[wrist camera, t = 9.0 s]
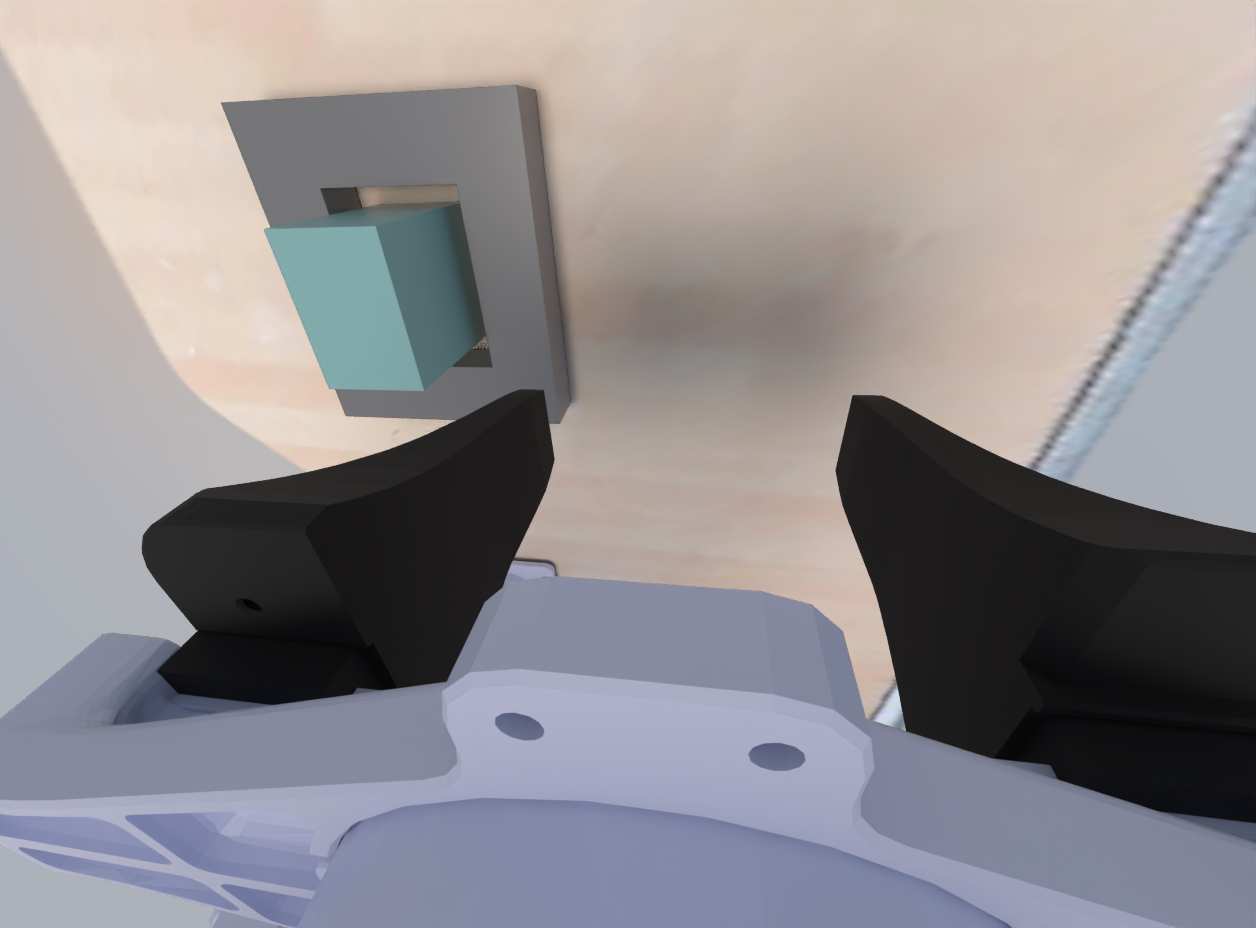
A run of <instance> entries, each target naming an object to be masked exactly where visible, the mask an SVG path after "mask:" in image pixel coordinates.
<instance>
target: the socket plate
mask: <svg viewBox="0 0 1256 928" xmlns="http://www.w3.org/2000/svg"><path fill="white" fill-rule="evenodd" d="M221 104H222V107H223V109H224V112H225V114H226V117H227V119H228V122H229V124H230V127H231V130H232V132H233V135H234V137H235V140H236V142H237V145H238V147H239V150H240V152H241V155H242V157H243V160H244V162H245V165H246V167H247V170H248V172H249V175H250V177H251V180H252V182H253V185H254V187H255V190H256V192H257V195H258V197H259V200H260V202H261V205H262V207H263V210H264V212H265V215H266V217H267V220H268V222H269V225H270V227H276V226H280V225H285V224H290V223H294V222H299V221H304V220H308V219H313V218H318V217H322V216H327V215H332V214H336V213H341V212H346V211H350V210H355V209H360V208H361V204H360V201H359V198H358V194H357V191H356V188H355V187H377V186H408V185H440V184H456V185H457V190H458V195H459V200H460V205H461V210H462V215H463V220H464V225H465V230H466V235H467V240H468V245H469V250H470V255H471V260H472V265H473V270H474V275H475V280H476V285H477V290H478V295H479V300H480V306H481V311H482V316H483V321H484V326H485V331H486V336H487V341H488V346H489V349H470V350H469V351H468V352H467V353H466V354H465V355H464V356H463V357H462V358H460V359H459V360H458V361H457V362H456V363H455V364H454V365H453V366H452V367H450V368H449V369H448V370H447V371H446V372H445V373H444V374H443V375H442V376H440V377H439V378H438V379H437V380H436V381H435V382H434V383H433V384H432V385H430V386H429V387H428V388H427V389H426V390H425V391H400V390H357V389H335V390H336V393H337V395H338V398H339V400H340V403H341V405H342V408H343V410H344V413H345V415H346V416H355V417H383V418H411V419H439V420H458V419H460V418H462V417H464V416H466V415H468V414H470V413H472V412H474V411H475V410H477V409H479V408H481V407H483V406H485V405H487V404H489V403H491V402H493V401H495V400H496V399H498V398H500V397H502V396H504V395H507V394H509V393H511V392H513V391H516V390H519V389H535V390H544V394H545V400H546V407H547V413H548V420H549V423H550V424H560V422H561V420H562V418H563V416H564V415H565V413H566V411H567V409H568V407H569V405H570V403H571V402H570V393H569V384H568V375H567V366H566V357H565V348H564V339H563V330H562V322H561V313H560V304H559V295H558V286H557V277H556V268H555V259H554V250H553V241H552V232H551V223H550V214H549V205H548V196H547V187H546V178H545V169H544V160H543V151H542V142H541V133H540V124H539V115H538V106H537V97H536V90H534V89H529V88H525V87H521V86H517V85H511V86H494V87H477V88H460V89H443V90H426V91H410V92H393V93H376V94H359V95H342V96H325V97H308V98H291V99H274V100H257V101H240V102H223V103H221Z"/></svg>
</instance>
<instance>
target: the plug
mask: <svg viewBox="0 0 1256 928" xmlns="http://www.w3.org/2000/svg"><path fill="white" fill-rule="evenodd" d="M264 232H265V234H266V237H267V239H268V241H269V244H270V246H271V249H272V251H273V254H274V256H275V258H276V261H277V263H278V266H279V268H280V271H281V273H282V275H283V278H284V280H285V283H286V285H287V288H288V290H289V292H290V295H291V297H292V300H293V302H294V305H295V307H296V309H297V312H298V314H299V317H300V319H301V322H302V324H303V327H304V329H305V331H306V334H307V336H308V339H309V341H310V344H311V346H312V348H313V351H314V353H315V356H316V358H317V361H318V363H319V365H320V368H321V370H322V373H323V375H324V378H325V380H326V382H327V385H328V387H329V389H357V390H400V391H425V390H426V389H427V388H428V387H429V386H430V385H432V384H433V383H434V382H435V381H436V380H437V379H438V378H439V377H440V376H442V375H443V374H444V373H445V372H446V371H447V370H448V369H449V368H450V367H452V366H453V365H454V364H455V363H456V362H457V361H458V360H459V359H460V358H462V357H463V356H464V355H465V354H466V353H467V352H468V351H469V350H470V349H472V348H473V347H474V346H475V345H476V344H477V343H478V342H479V341H480V340H482V339H483V338H484V337H485V336H486V331H485V326H484V321H483V316H482V311H481V306H480V300H479V295H478V290H477V285H476V280H475V275H474V270H473V265H472V260H471V255H470V250H469V245H468V240H467V235H466V230H465V225H464V220H463V215H462V210H461V205H460V202H436V203H406V204H378V205H374V206H369V207H364V208H360V209H355V210H350V211H346V212H341V213H336V214H332V215H327V216H322V217H318V218H313V219H308V220H304V221H299V222H294V223H290V224H285V225H280V226H276V227H271V228H266V229H264Z"/></svg>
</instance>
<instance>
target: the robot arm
mask: <svg viewBox="0 0 1256 928" xmlns="http://www.w3.org/2000/svg"><path fill="white" fill-rule="evenodd" d="M554 460H555V459H554V452H553V446H552V439H551V433H550V426H549V420H548V413H547V407H546V400H545V394H544V390H535V389H519V390H516V391H513V392H511V393H509V394H507V395H504V396H502V397H500V398H498V399H496V400H495V401H493V402H491V403H489V404H487V405H485V406H483V407H481V408H479V409H477V410H475V411H474V412H472V413H470V414H468V415H466V416H464V417H462V418H460V419H458V420H456V421H454V422H452V423H450V424H448V425H446V426H443V427H441V428H439V429H437V430H435V431H433V432H431V433H429V434H427V435H424V436H422V437H420V438H417V439H415V440H412V441H410V442H407V443H405V444H402V445H399V446H397V447H394V448H391V449H389V450H386V451H383V452H380V453H377V454H373V455H370V456H366V457H363V458H360V459H356V460H353V461H350V462H346V463H343V464H339V465H336V466H332V467H327V468H323V469H319V470H315V471H310V472H306V473H301V474H297V475H291V476H287V477H281V478H275V479H270V480H263V481H257V482H250V483H244V484H237V485H230V486H223V487H215V488H207V489H205V490H202V491H200V492H198V493H196V494H195V495H193V496H192V497H190V498H189V499H188V500H186V501H185V502H183V503H182V504H180V505H179V506H178V507H176V508H175V509H173V510H172V511H170V512H169V513H168V514H166V515H165V516H163V517H162V518H161V519H159V520H158V521H156V522H155V523H153V524H152V525H151V526H150V527H149V528H148V529H147V531H146V532H145V533H144V535H143V540H142V554H143V557H144V560H145V563H146V566H147V568H148V570H149V571H150V573H151V574H152V576H153V577H154V579H155V580H156V582H157V583H158V584H159V585H160V586H161V588H162V589H163V590H164V591H165V592H166V594H167V595H168V596H169V597H170V598H171V600H172V601H173V602H174V603H175V605H176V606H177V607H178V608H179V609H180V611H181V612H182V613H183V614H184V615H185V617H186V618H187V619H188V620H189V622H190V623H191V624H192V625H193V626H194V627H195V629H196V630H198V631H197V632H196V633H195V634H194V635H193V636H192V637H191V638H190V639H189V640H188V641H187V642H186V643H185V644H184V645H183V646H182V647H180V646H179V645H177V644H175V643H173V642H171V641H169V640H166V639H162V638H158V637H147V636H138V635H128V634H117V633H107V634H102V635H101V636H100V637H99V638H97V639H96V640H95V641H94V642H93V643H91V644H90V645H89V646H88V647H86V648H85V649H84V650H83V651H82V652H80V654H78V655H77V656H76V657H74V658H73V659H72V660H71V661H70V662H68V663H67V664H66V665H65V666H63V667H62V668H61V669H60V670H59V671H57V672H56V673H55V674H54V675H53V676H51V677H50V678H49V679H48V680H47V681H45V682H44V683H43V684H42V685H41V686H39V687H38V688H37V689H36V690H34V691H33V692H32V693H31V694H30V695H28V696H27V697H26V698H25V699H24V700H22V701H21V702H20V703H19V704H18V705H16V706H15V707H14V708H13V709H12V710H10V711H9V712H8V713H7V714H6V715H4V716H3V717H2V718H1V719H0V844H1V845H3V846H5V847H6V848H8V849H10V850H12V851H14V852H16V853H18V854H20V855H21V856H24V857H25V858H27V859H29V860H31V861H33V862H35V863H36V864H38V865H40V866H42V867H44V868H46V869H48V870H51V871H57V872H61V873H66V874H71V875H76V876H81V877H86V878H91V879H96V880H101V881H105V882H110V883H114V884H119V885H123V886H127V887H131V888H136V889H140V890H144V891H149V892H153V893H157V894H161V895H165V896H169V897H172V898H176V899H180V900H184V901H188V902H192V903H196V904H200V905H203V906H207V907H211V908H214V911H213V913H212V915H211V917H210V928H1256V533H1251V532H1246V531H1242V530H1237V529H1232V528H1228V527H1223V526H1218V525H1213V524H1208V523H1204V522H1200V521H1196V520H1192V519H1188V518H1184V517H1180V516H1176V515H1172V514H1169V513H1164V512H1161V511H1157V510H1153V509H1149V508H1145V507H1142V506H1138V505H1135V504H1131V503H1127V502H1124V501H1121V500H1117V499H1114V498H1111V497H1107V496H1105V495H1101V494H1098V493H1095V492H1092V491H1089V490H1085V489H1083V488H1079V487H1077V486H1073V485H1071V484H1068V483H1065V482H1062V481H1059V480H1057V479H1054V478H1051V477H1048V476H1046V475H1043V474H1041V473H1038V472H1036V471H1033V470H1031V469H1028V468H1026V467H1023V466H1021V465H1018V464H1016V463H1013V462H1011V461H1009V460H1007V459H1004V458H1002V457H1000V456H998V455H996V454H993V453H991V452H989V451H987V450H985V449H983V448H981V447H979V446H977V445H975V444H973V443H971V442H969V441H967V440H965V439H963V438H961V437H959V436H957V435H956V434H954V433H952V432H950V431H948V430H946V429H944V428H943V427H941V426H939V425H937V424H935V423H934V422H932V421H930V420H928V419H927V418H925V417H923V416H921V415H919V414H918V413H916V412H914V411H912V410H911V409H909V408H907V407H905V406H903V405H901V404H899V403H898V402H896V401H894V400H891V399H889V398H887V397H884V396H876V395H853V396H852V400H851V405H850V409H849V413H848V418H847V422H846V427H845V431H844V435H843V440H842V444H841V449H840V453H839V457H838V462H837V466H836V476H837V481H838V486H839V491H840V496H841V501H842V505H843V508H844V511H845V514H846V516H847V519H848V522H849V524H850V527H851V530H852V532H853V535H854V537H855V540H856V543H857V545H858V548H859V550H860V553H861V556H862V558H863V561H864V563H865V566H866V569H867V571H868V574H869V576H870V579H871V582H872V584H873V588H874V591H875V594H876V597H877V600H878V604H879V608H880V612H881V616H882V620H883V624H884V628H885V632H886V636H887V640H888V645H889V649H890V654H891V658H892V663H893V667H894V672H895V676H896V681H897V686H898V691H899V696H900V701H901V707H902V712H903V717H904V722H905V728H906V731H903V730H900V729H897V728H894V727H890V726H887V725H884V724H881V723H878V722H875V721H872V720H868V719H866V717H865V713H864V709H863V705H862V702H861V698H860V694H859V690H858V686H857V683H856V679H855V675H854V671H853V668H852V664H851V660H850V656H849V652H848V649H847V645H846V641H845V637H844V634H843V631H842V630H841V629H840V628H839V627H837V626H836V625H835V624H834V623H833V622H832V621H830V620H829V619H828V618H827V617H826V616H824V615H823V614H822V613H821V612H820V611H819V610H817V609H816V608H815V607H814V606H813V605H811V604H808V603H804V602H801V601H797V600H793V599H789V598H785V597H781V596H777V595H773V594H770V593H766V592H762V591H752V590H738V589H724V588H710V587H696V586H683V585H669V584H655V583H641V582H627V581H613V580H600V579H586V578H572V577H558V576H556V575H555V569H554V567H553V566H552V565H550V564H548V563H538V562H525V561H513V559H514V557H515V555H516V553H517V550H518V548H519V546H520V544H521V542H522V540H523V538H524V536H525V534H526V532H527V530H528V528H529V525H530V523H531V521H532V519H533V517H534V515H535V513H536V511H537V509H538V506H539V504H540V502H541V500H542V498H543V496H544V493H545V491H546V488H547V485H548V482H549V478H550V475H551V471H552V468H553V464H554Z"/></svg>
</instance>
